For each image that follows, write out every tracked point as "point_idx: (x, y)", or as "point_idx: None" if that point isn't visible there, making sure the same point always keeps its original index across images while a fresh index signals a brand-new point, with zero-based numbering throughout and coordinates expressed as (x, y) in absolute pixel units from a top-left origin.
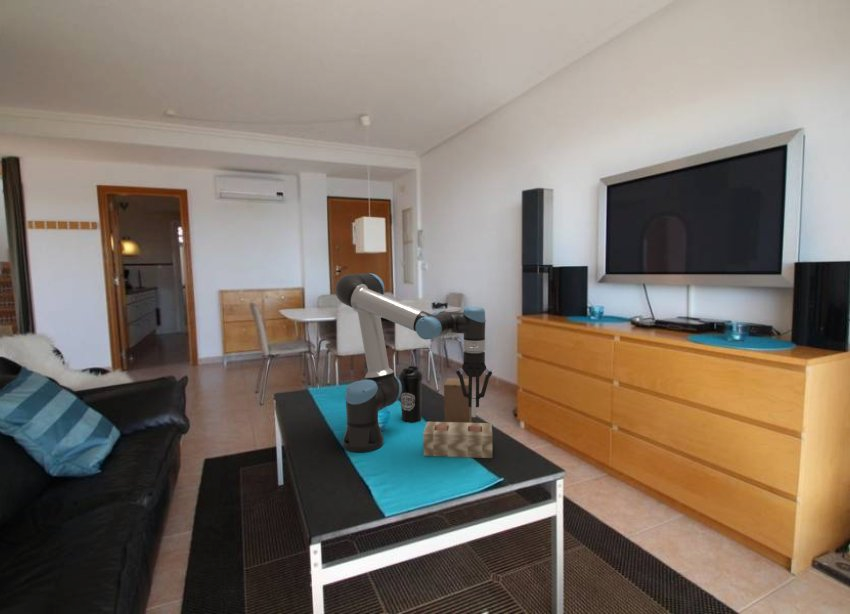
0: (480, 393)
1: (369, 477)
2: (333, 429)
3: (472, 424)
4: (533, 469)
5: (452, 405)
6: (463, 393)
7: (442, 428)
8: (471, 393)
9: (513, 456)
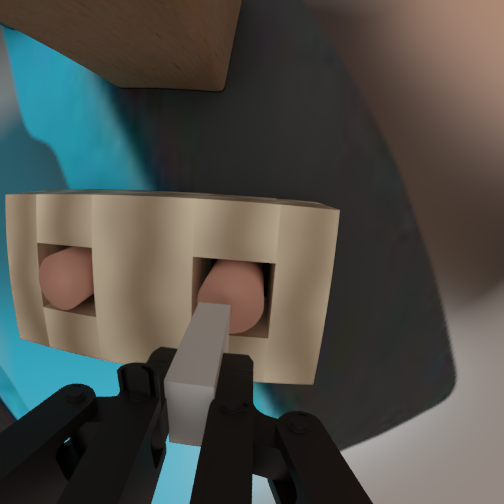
0: (267, 455)
1: (7, 396)
2: None
3: (218, 230)
4: (405, 394)
5: (88, 42)
6: (70, 457)
7: (68, 309)
8: (152, 483)
9: (379, 317)
